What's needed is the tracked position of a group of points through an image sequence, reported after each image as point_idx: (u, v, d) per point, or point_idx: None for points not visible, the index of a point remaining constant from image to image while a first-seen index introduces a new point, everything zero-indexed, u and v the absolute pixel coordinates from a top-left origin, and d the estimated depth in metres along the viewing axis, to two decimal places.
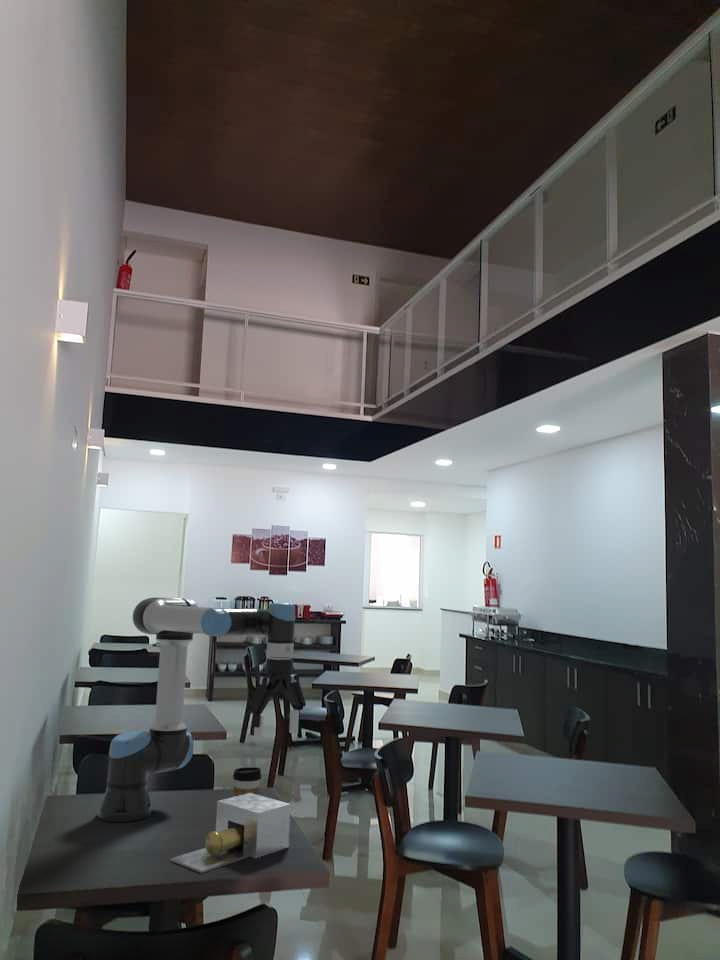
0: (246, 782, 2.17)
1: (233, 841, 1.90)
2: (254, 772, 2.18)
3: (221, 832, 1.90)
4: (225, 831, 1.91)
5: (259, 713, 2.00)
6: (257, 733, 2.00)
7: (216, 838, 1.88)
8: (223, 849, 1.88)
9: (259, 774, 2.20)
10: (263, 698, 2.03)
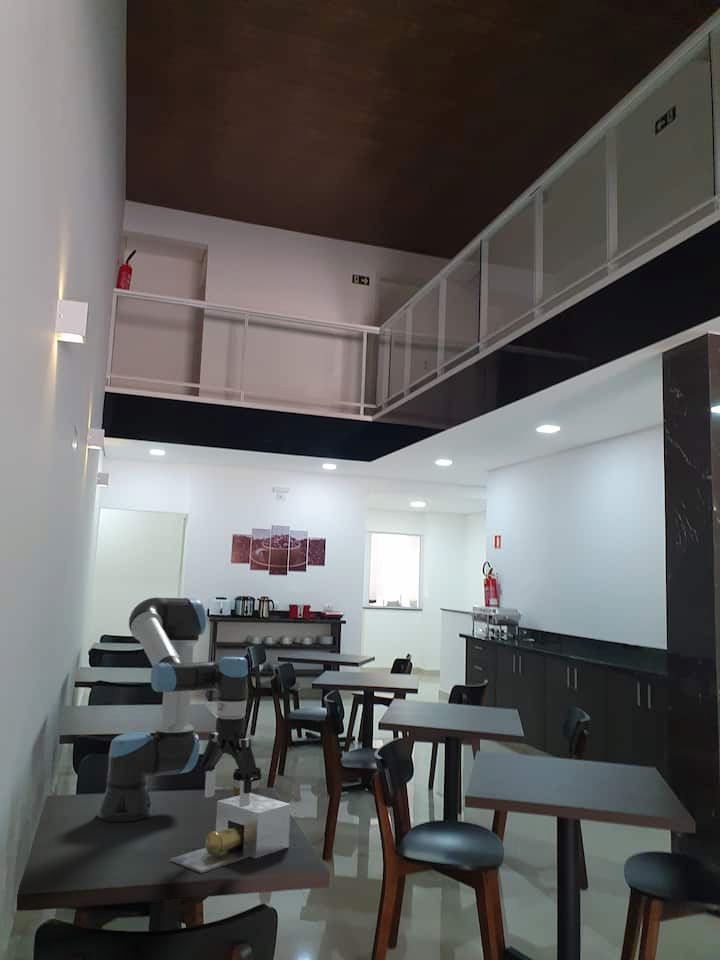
0: None
1: (233, 841, 1.90)
2: None
3: (221, 832, 1.90)
4: (225, 831, 1.91)
5: (204, 768, 1.98)
6: None
7: (216, 838, 1.88)
8: (223, 849, 1.88)
9: (259, 774, 2.20)
10: None
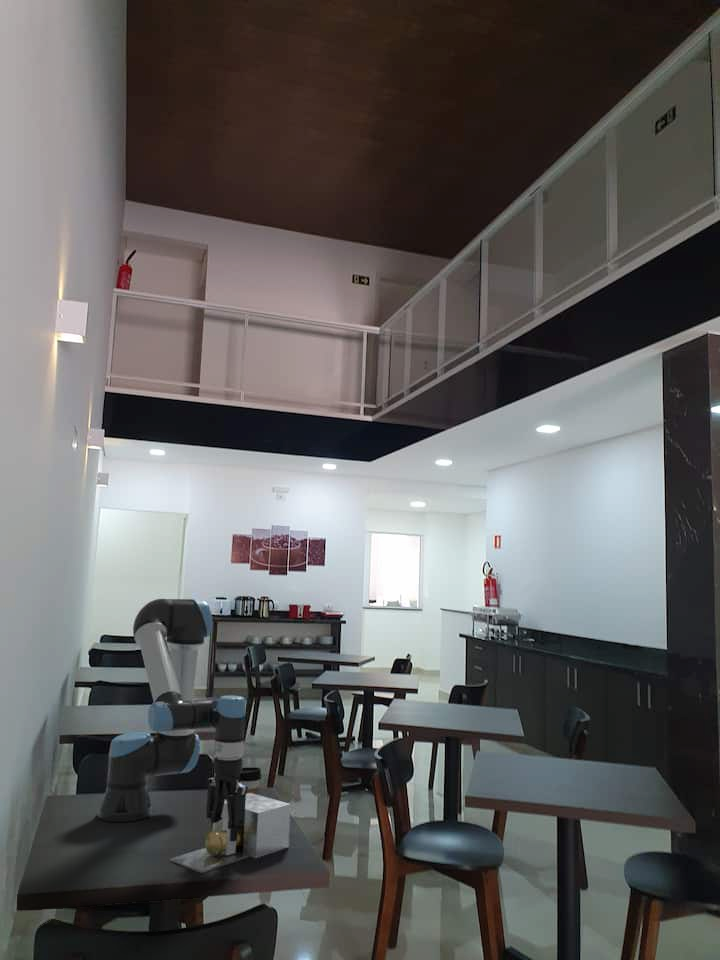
0: (246, 782, 2.17)
1: None
2: (254, 772, 2.18)
3: (221, 832, 1.90)
4: (225, 831, 1.91)
5: (211, 820, 1.93)
6: None
7: (216, 838, 1.88)
8: (223, 849, 1.88)
9: (259, 774, 2.20)
10: None
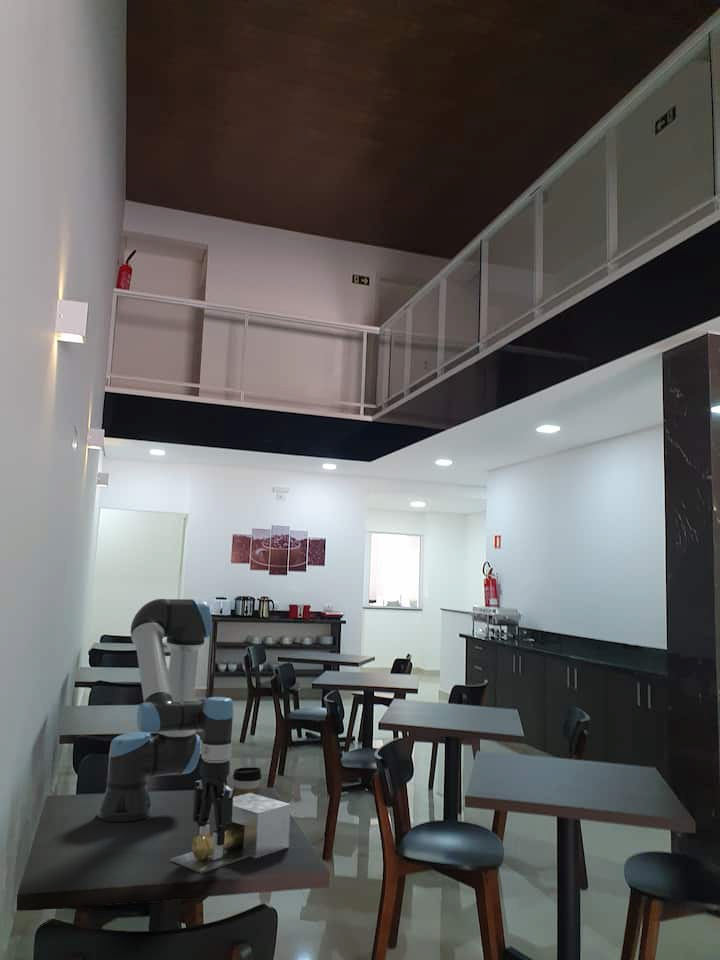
0: (246, 782, 2.17)
1: None
2: (254, 772, 2.18)
3: (208, 836, 1.87)
4: (212, 835, 1.88)
5: (198, 824, 1.90)
6: None
7: (202, 842, 1.84)
8: (210, 853, 1.85)
9: (259, 774, 2.20)
10: None
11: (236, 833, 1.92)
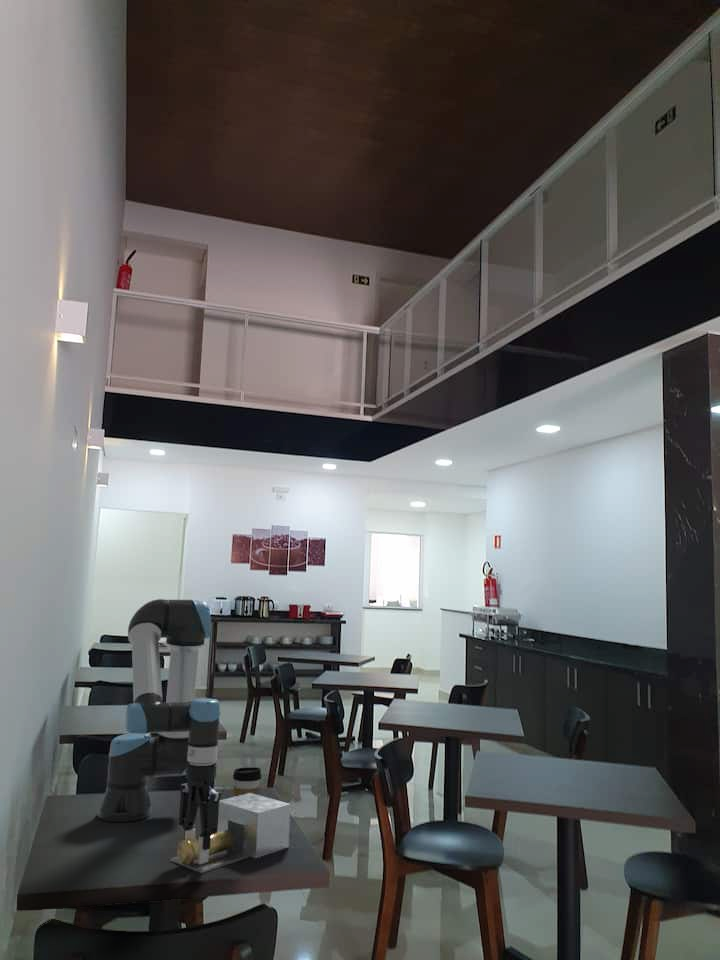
0: (246, 782, 2.17)
1: None
2: (254, 772, 2.18)
3: (193, 840, 1.83)
4: (198, 839, 1.84)
5: (184, 828, 1.86)
6: None
7: (188, 846, 1.81)
8: (195, 858, 1.82)
9: (259, 774, 2.20)
10: None
11: (223, 837, 1.89)
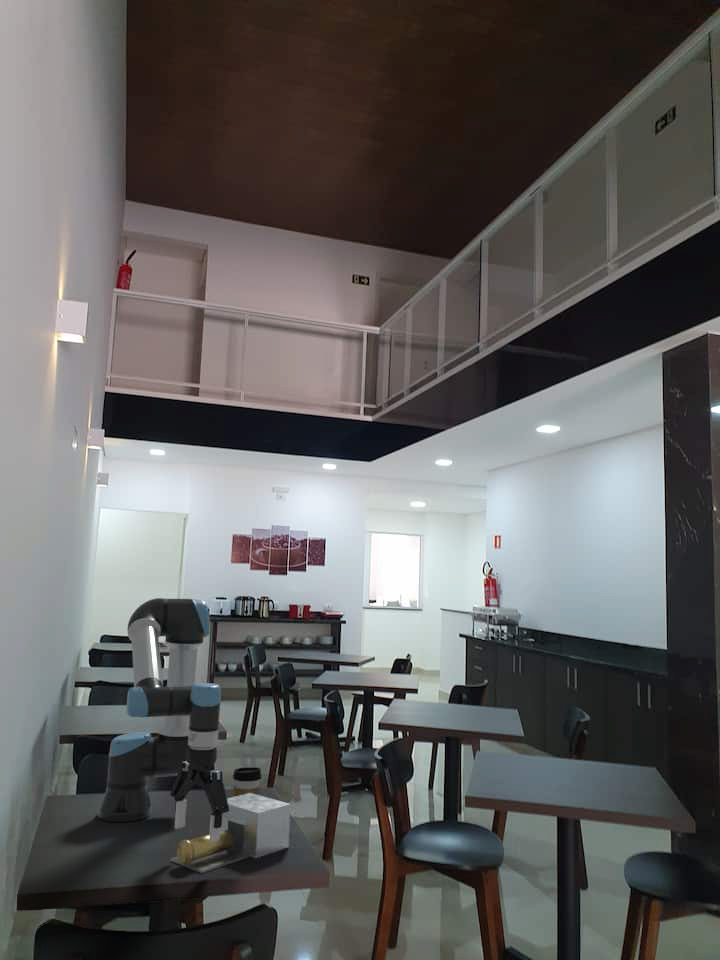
0: (246, 782, 2.17)
1: (205, 850, 1.84)
2: (254, 772, 2.18)
3: (193, 840, 1.83)
4: (197, 839, 1.84)
5: (175, 798, 1.90)
6: None
7: (188, 846, 1.81)
8: (195, 858, 1.82)
9: (259, 774, 2.20)
10: None
11: (222, 837, 1.89)
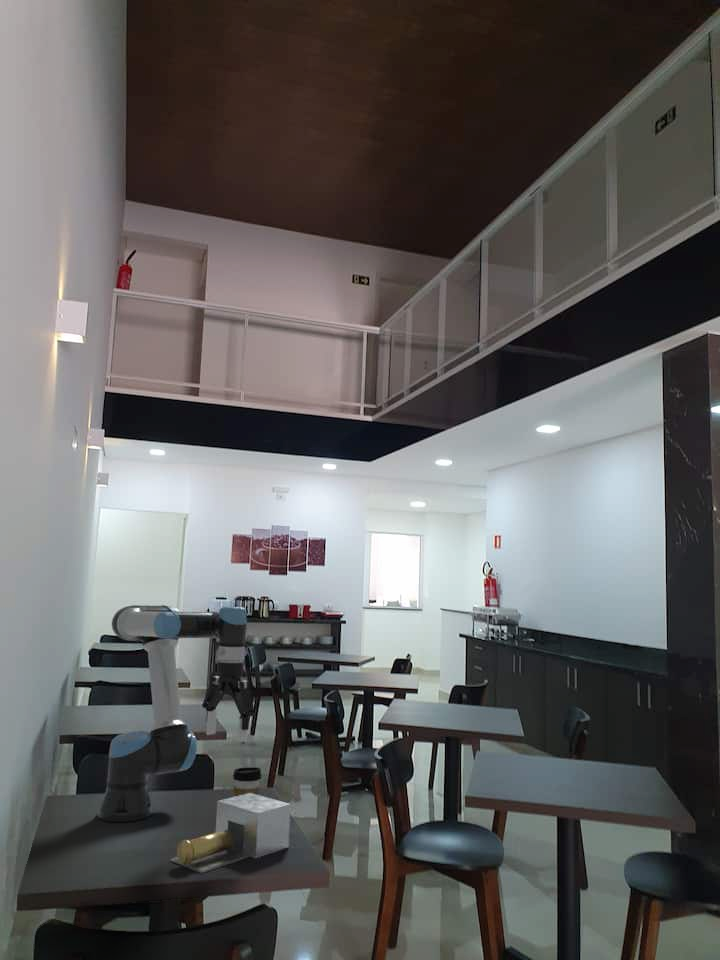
0: (246, 782, 2.17)
1: (205, 850, 1.84)
2: (254, 772, 2.18)
3: (193, 840, 1.83)
4: (197, 839, 1.84)
5: (206, 709, 2.14)
6: None
7: (188, 846, 1.81)
8: (195, 858, 1.82)
9: (259, 774, 2.20)
10: None
11: (222, 837, 1.89)
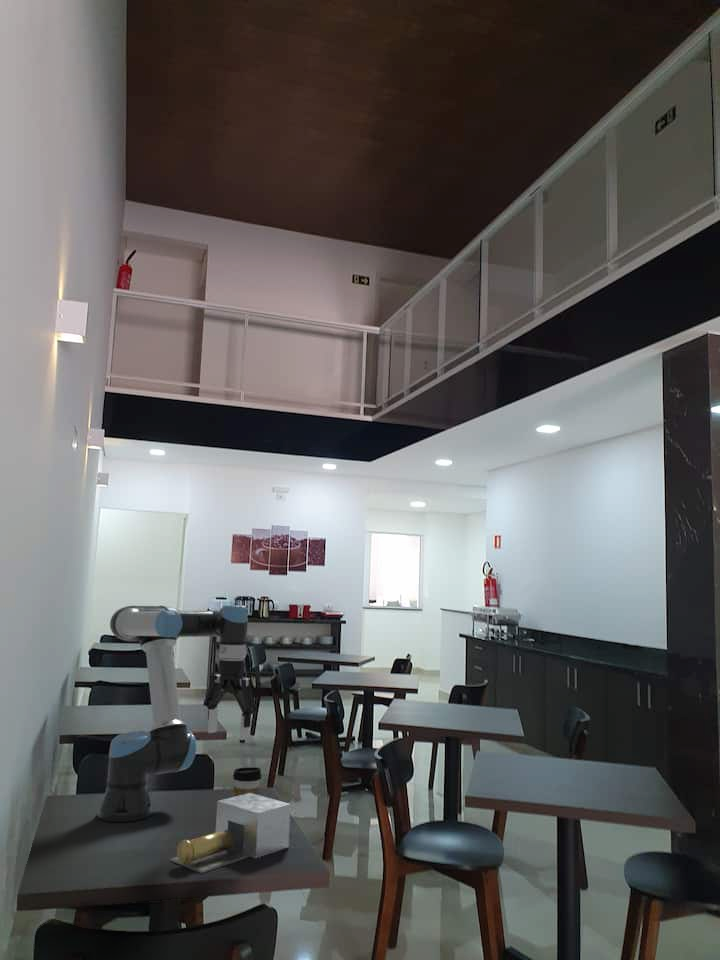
0: (246, 782, 2.17)
1: (205, 850, 1.84)
2: (254, 772, 2.18)
3: (193, 840, 1.83)
4: (197, 839, 1.84)
5: (207, 707, 2.15)
6: None
7: (188, 846, 1.81)
8: (195, 858, 1.82)
9: (259, 774, 2.20)
10: None
11: (222, 837, 1.89)
